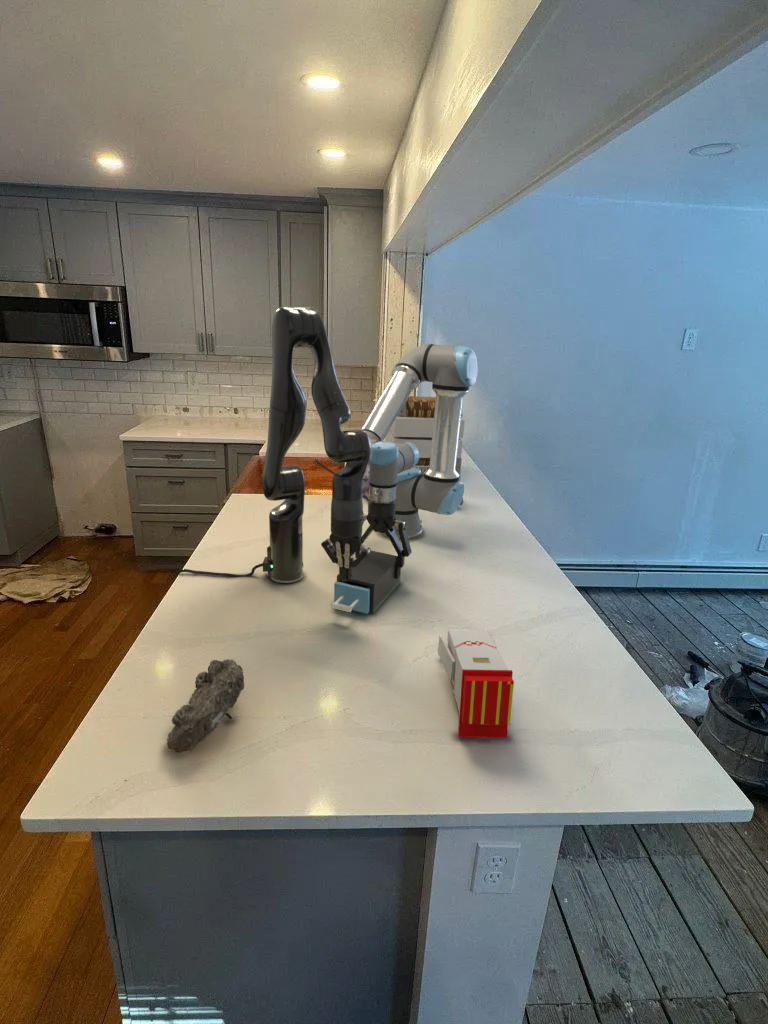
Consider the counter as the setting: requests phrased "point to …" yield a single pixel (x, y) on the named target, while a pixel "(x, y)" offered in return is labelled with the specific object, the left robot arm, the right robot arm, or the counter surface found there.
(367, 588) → the drawer
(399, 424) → the light grey slatted crate
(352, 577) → the cabinet
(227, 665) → the fossil
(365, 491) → the figurine
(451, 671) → the toy
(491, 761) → the counter surface
